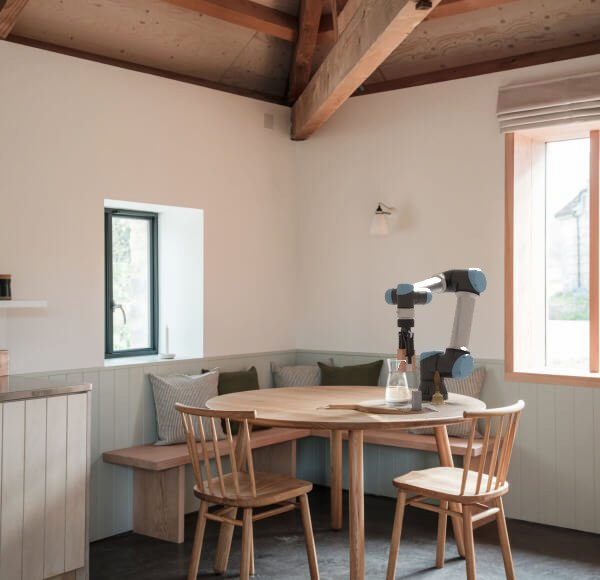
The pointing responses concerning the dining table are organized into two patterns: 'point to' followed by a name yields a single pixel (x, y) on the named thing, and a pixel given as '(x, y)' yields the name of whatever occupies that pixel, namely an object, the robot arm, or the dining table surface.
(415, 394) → the post
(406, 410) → the board
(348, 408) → the dining table surface
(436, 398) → the hand bell
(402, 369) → the pink upright block
